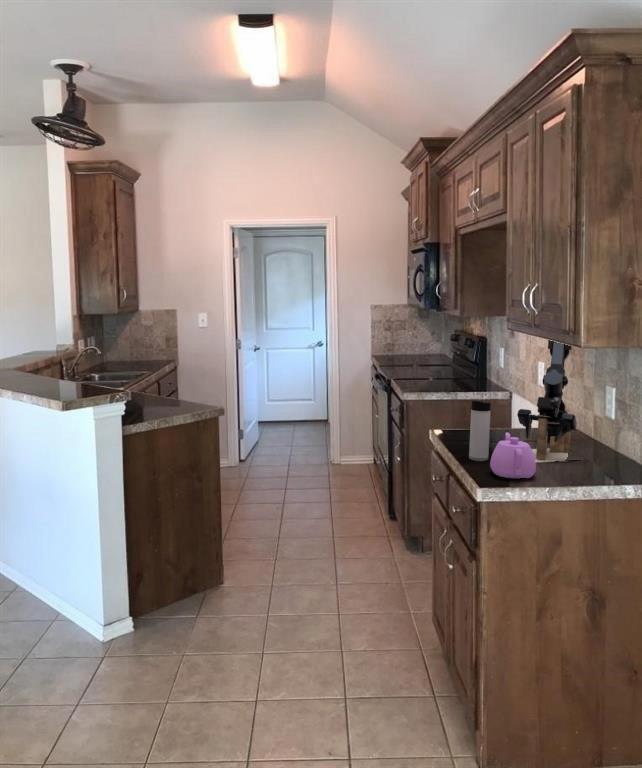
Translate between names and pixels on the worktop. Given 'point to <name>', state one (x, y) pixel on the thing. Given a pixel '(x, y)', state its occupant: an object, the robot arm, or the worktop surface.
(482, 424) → the travel mug
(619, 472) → the worktop surface
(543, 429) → the gate
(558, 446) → the base
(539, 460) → the card
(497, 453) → the teapot
